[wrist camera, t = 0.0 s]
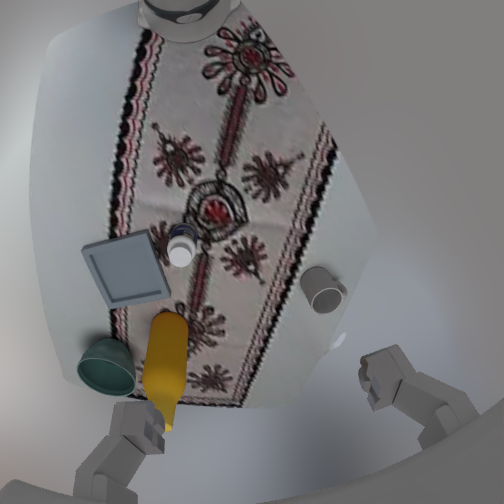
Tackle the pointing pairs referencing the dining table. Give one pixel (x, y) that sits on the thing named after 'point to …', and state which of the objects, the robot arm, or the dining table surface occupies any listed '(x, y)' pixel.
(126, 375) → the flower pot
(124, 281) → the dish
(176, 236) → the pill bottle
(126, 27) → the dining table surface
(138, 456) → the robot arm
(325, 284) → the cup
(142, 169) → the dining table surface
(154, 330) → the beer bottle
